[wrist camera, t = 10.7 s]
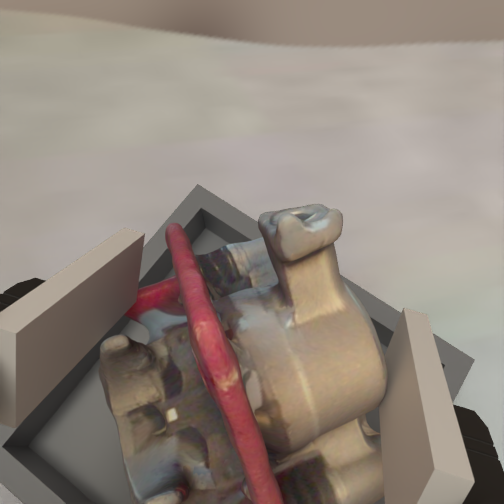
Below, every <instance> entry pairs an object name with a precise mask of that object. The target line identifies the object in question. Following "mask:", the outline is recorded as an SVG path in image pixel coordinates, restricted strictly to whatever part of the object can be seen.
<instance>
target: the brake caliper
mask: <svg viewBox="0 0 504 504" xmlns="http://www.w3.org/2000/svg"><path fill="white" fill-rule="evenodd" d="M342 226H343V216H342V213H341V212H340V211H339V210H337V209H331V210H330V209H328V208H327V207H325V206H324V205H322V204H312V205H307V206H303V207H297V208H289V209H284V210H280V211H273V212H265V213H263V214H261V215H260V217H259V219H258V228H259V230H260V232H261V234H262V237H261V238H258V239H255V240H252V241H247V242H240V243H232V244H228V245H225V246H223V247H221V248H219V249H217V250H215V251H213V252H210V253H207V254H202V255H195V254H194V252H193V249H192V246H191V243H190V240H189V238H188V236H187V235H186V233H185V231H184V230H183V228H182V226H181V225H180V224H178V223H170V224H169V225H168V226H167V228H166V231H165V240H166V244H167V247H168V249H169V251H170V253H171V255H172V264H173V268H174V271H175V274H176V275H174V276H172V277H170V278H168V279H165V280H163V281H160V282H158V283H155V284H152V285H148V286H145V287H142V288H139V289H138V292H137V300H136V302H135V303H134V304H133V306H132V307H131V308H130V309H129V310H128V311H127V312H126V313H125V314H124V316H126V317H128V318H130V319H132V320H134V321H136V322H138V323H140V324H142V325H144V326H145V327H146V328H147V329H148V331H149V340H148V342H147V344H146V345H145V344H143V343H140V342H136V341H135V340H132V339H131V338H130V337H128V336H127V335H122V334H121V335H115V336H112V337H109V338H108V339H106V340H105V341H104V342H103V343H102V344H101V347H100V367H99V370H98V372H99V378H100V380H101V383H102V386H103V389H104V393H105V398H106V402H107V405H108V407H109V410H110V412H111V414H112V415H113V417H114V419H115V422H116V425H117V429H118V434H119V440H120V445H121V450H122V456H123V465H124V471H125V475H126V479H127V482H128V486H129V490H130V496H131V503H132V504H373V503H375V502H377V501H378V500H380V499H381V498H382V497H384V480H383V464H382V449H381V433H378V432H376V431H374V430H373V429H371V428H370V427H369V425H368V423H367V420H366V413H368V412H370V411H372V410H374V409H375V408H377V407H378V406H379V405H380V404H381V402H382V400H383V399H384V397H385V394H386V391H387V381H388V370H387V365H386V360H385V356H384V353H383V350H382V347H381V344H380V341H379V338H378V336H377V333H376V330H375V328H374V325H373V323H372V321H371V318H370V316H369V314H368V312H367V311H366V309H365V307H364V306H363V304H362V303H361V301H360V300H359V299H358V297H357V296H356V295H355V293H354V292H353V291H352V290H351V288H350V287H349V286H348V285H347V284H346V283H345V282H344V281H343V280H342V279H341V276H340V273H339V268H338V262H337V256H336V251H335V247H334V242H335V241H336V240H337V239H338V238H339V237H340V235H341V232H342Z"/></svg>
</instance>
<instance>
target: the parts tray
mask: <svg viewBox="0 0 504 504" xmlns="http://www.w3.org/2000/svg"><path fill="white" fill-rule="evenodd" d="M170 223H178V224H180V225H181V226H182V228H183V230H184V231H185V233H186V235H187V236H188V238H189V240H190V243H191V246H192V249H193V252H194V254H195V255H202V254H207V253H210V252H213V251H215V250H217V249H219V248H221V247H223V246H225V245H228V244H232V243H240V242H247V241H252V240H255V239H258V238H261V237H262V234H261V232H260V230H259V228H258V222H257V221H255V220H254V219H252V218H250V217H249V216H247V215H246V214H244V213H242V212H241V211H239V210H238V209H236V208H235V207H233V206H231V205H230V204H228V203H227V202H225V201H224V200H222V199H220V198H219V197H217V196H216V195H214V194H213V193H211V192H209V191H208V190H206V189H205V188H203V187H202V186H200V185H198V184H197V185H196V187H195V188H194V189H193V190H192V191H191V192H190V194H189V195H188V196H187V197H186V198H185V199H184V201H183V202H182V203H181V204H180V205H179V206H178V208H177V209H176V210H175V211H174V212H173V213H172V215H171V216H170V217H169V218H168V219H167V220H166V222H165V223H164V224H163V225H162V226H161V228H160V229H159V230H158V231H157V232H156V233H155V235H154V236H153V237H152V238H151V239H150V240H149V242H148V243H147V244H146V245H145V246H144V247H143V252H142V260H141V268H140V276H139V284H138V289H139V288H142V287H145V286H148V285H152V284H155V283H158V282H160V281H163V280H165V279H168V278H170V277H172V276H174V275H176V274H175V271H174V268H173V264H172V255H171V253H170V251H169V249H168V247H167V244H166V240H165V231H166V228H167V226H168V225H169V224H170ZM340 276H341V279H342V280H343V281H344V282H345V283H346V284H347V285H348V286H349V287H350V288H351V290H352V291H353V292H354V293H355V295H356V296H357V297H358V299H359V300H360V301H361V303H362V304H363V306H364V307H365V309H366V311H367V312H368V314H369V316H370V318H371V321H372V323H373V325H374V328H375V330H376V333H377V336H378V338H379V341H380V344H381V347H382V350H383V353H384V356H385V353H386V351H387V348H388V346H389V343H390V341H391V338H392V336H393V334H394V331H395V329H396V326H397V324H398V321H399V319H400V316H401V314H402V313H400V312H399V311H397V310H395V309H394V308H392V307H391V306H389V305H388V304H386V303H384V302H383V301H381V300H380V299H378V298H376V297H375V296H373V295H372V294H370V293H369V292H367V291H365V290H364V289H362V288H361V287H359V286H358V285H356V284H354V283H353V282H351V281H350V280H348V279H347V278H345V277H343V276H342V275H340ZM121 334H122V335H127V336H128V337H130V338H131V339H132V340H135V341H136V342H140V343H143V344H145V345H146V344H147V342H148V340H149V331H148V329H147V328H146V327H145V326H144V325H142V324H140V323H138V322H136V321H134V320H132V319H130V318H128V317H126V316H124V315H123V316H122V317H121V318H120V319H119V320H118V321H117V322H116V323H115V324H114V326H113V327H112V328H111V329H110V330H109V331H108V332H107V333H106V334H105V335H104V336H103V337H102V338H101V339H100V340H99V341H98V342H97V343H96V344H95V346H94V347H93V348H92V349H91V350H90V351H89V352H88V353H87V354H86V355H85V356H84V357H83V358H82V359H81V360H80V361H79V362H78V363H77V364H76V366H75V367H74V368H73V369H72V370H71V371H70V372H69V373H68V374H67V375H66V376H65V377H64V378H63V379H62V380H61V381H60V382H59V383H58V385H57V386H56V387H55V388H54V389H53V390H52V391H51V392H50V393H49V394H48V395H47V396H46V397H45V398H44V399H43V400H42V401H41V402H40V403H39V405H38V406H37V407H36V408H35V409H34V410H33V411H32V412H31V413H30V414H29V415H28V416H27V417H26V418H25V419H24V420H23V421H22V422H21V423H20V425H19V426H18V427H17V428H16V429H15V428H12V427H9V426H6V425H3V424H0V483H2V484H3V485H4V486H5V487H6V488H7V489H8V490H9V491H10V492H11V493H13V494H14V495H15V496H16V497H17V498H18V499H19V500H20V501H21V502H22V503H24V504H132V503H131V496H130V490H129V486H128V482H127V479H126V475H125V471H124V465H123V456H122V450H121V445H120V440H119V434H118V429H117V425H116V422H115V419H114V417H113V415H112V414H111V412H110V410H109V407H108V405H107V402H106V398H105V393H104V389H103V386H102V383H101V380H100V378H99V372H98V370H99V367H100V347H101V344H102V343H103V342H104V341H105V340H106V339H108V338H109V337H112V336H115V335H121ZM433 336H434V340H435V343H436V347H437V350H438V354H439V358H440V361H441V365H442V368H443V372H444V375H445V379H446V382H447V386H448V389H449V393H450V396H451V400H452V403H453V401H454V399H455V397H456V396H457V394H458V392H459V390H460V388H461V386H462V384H463V382H464V380H465V378H466V376H467V374H468V372H469V370H470V368H471V366H472V364H473V362H474V359H473V358H471V357H469V356H468V355H466V354H465V353H463V352H462V351H460V350H458V349H457V348H455V347H454V346H452V345H451V344H449V343H447V342H446V341H444V340H443V339H441V338H440V337H438V336H436V335H435V334H433ZM366 420H367V423H368V425H369V427H370V428H371V429H373V430H374V431H376V432H378V433H380V417H379V406H378V407H377V408H375V409H374V410H372V411H370V412H368V413H366ZM373 504H385V496H384V497H382V498H381V499H380V500H378V501H377V502H375V503H373Z"/></svg>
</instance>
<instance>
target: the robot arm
mask: <svg viewBox="0 0 504 504" xmlns="http://www.w3.org/2000/svg"><path fill="white" fill-rule="evenodd" d="M144 237H145V234H144V233H141V232H137V231H134V230H130V229H127V228H123V229H122V230H120V231H119V232H117V233H116V234H114V235H113V236H111V237H110V238H109V239H107V240H106V241H104V242H103V243H101V244H100V245H98V246H97V247H95V248H94V249H92V250H91V251H89V252H88V253H87V254H85V255H84V256H82V257H81V258H79V259H78V260H76V261H75V262H73V263H72V264H70V265H69V266H67V267H66V268H65V269H63V270H62V271H60V272H59V273H57V274H56V275H54V276H53V277H51V278H50V279H48V280H47V281H44V280H41V279H38V278H33V279H30V280H27V281H24V282H20V283H17V284H16V285H14V286H12V287H11V288H9V289H8V290H6V291H4V293H3V294H0V424H3V425H6V426H9V427H12V428H15V429H16V428H17V427H18V426H19V425H20V423H21V422H22V421H23V420H24V419H25V418H26V417H27V416H28V415H29V414H30V413H31V412H32V411H33V410H34V409H35V408H36V407H37V406H38V405H39V403H40V402H41V401H42V400H43V399H44V398H45V397H46V396H47V395H48V394H49V393H50V392H51V391H52V390H53V389H54V388H55V387H56V386H57V385H58V383H59V382H60V381H61V380H62V379H63V378H64V377H65V376H66V375H67V374H68V373H69V372H70V371H71V370H72V369H73V368H74V367H75V366H76V364H77V363H78V362H79V361H80V360H81V359H82V358H83V357H84V356H85V355H86V354H87V353H88V352H89V351H90V350H91V349H92V348H93V347H94V346H95V344H96V343H97V342H98V341H99V340H100V339H101V338H102V337H103V336H104V335H105V334H106V333H107V332H108V331H109V330H110V329H111V328H112V327H113V326H114V324H115V323H116V322H117V321H118V320H119V319H120V318H121V317H122V316H123V315H124V314H125V313H126V312H127V311H128V310H129V309H130V308H131V307H132V306H133V304H134V303H135V302H136V300H137V292H138V284H139V276H140V268H141V260H142V252H143V244H144ZM385 360H386V365H387V370H388V381H387V391H386V394H385V397H384V399H383V400H382V402H381V404H380V405H379V417H380V433H381V449H382V464H383V480H384V496H385V504H504V471H503V468H502V466H501V463H500V461H499V460H498V455H497V452H496V449H495V447H493V441H492V438H491V435H490V433H489V430H488V427H487V426H486V425H485V424H484V422H483V421H482V420H481V419H480V417H479V416H478V415H477V414H476V412H475V411H472V410H469V409H466V408H463V407H459V406H456V405H453V403H452V400H451V396H450V393H449V389H448V386H447V382H446V379H445V375H444V372H443V368H442V365H441V361H440V358H439V354H438V350H437V347H436V343H435V340H434V336H433V333H432V329H431V326H430V322H429V319H428V315H427V314H423V313H420V312H416V311H413V310H409V309H406V308H404V309H403V311H402V314H401V316H400V319H399V321H398V324H397V326H396V329H395V331H394V334H393V336H392V338H391V341H390V343H389V346H388V348H387V351H386V353H385Z"/></svg>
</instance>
